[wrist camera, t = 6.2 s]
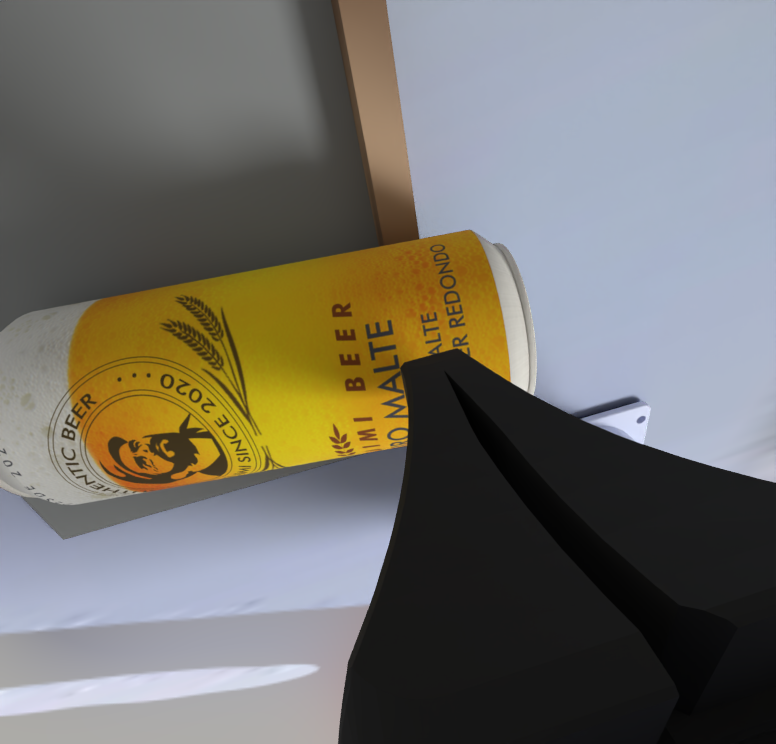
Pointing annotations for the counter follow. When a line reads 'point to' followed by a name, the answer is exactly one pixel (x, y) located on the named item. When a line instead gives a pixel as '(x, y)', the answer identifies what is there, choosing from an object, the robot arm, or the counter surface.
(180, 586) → the counter surface
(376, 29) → the bar
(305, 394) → the beer can
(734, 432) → the counter surface
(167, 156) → the mat
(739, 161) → the counter surface
